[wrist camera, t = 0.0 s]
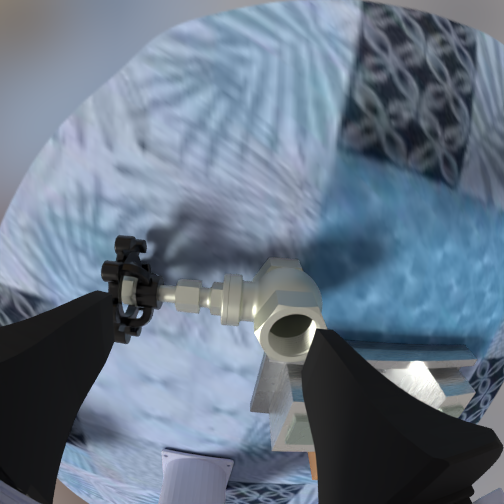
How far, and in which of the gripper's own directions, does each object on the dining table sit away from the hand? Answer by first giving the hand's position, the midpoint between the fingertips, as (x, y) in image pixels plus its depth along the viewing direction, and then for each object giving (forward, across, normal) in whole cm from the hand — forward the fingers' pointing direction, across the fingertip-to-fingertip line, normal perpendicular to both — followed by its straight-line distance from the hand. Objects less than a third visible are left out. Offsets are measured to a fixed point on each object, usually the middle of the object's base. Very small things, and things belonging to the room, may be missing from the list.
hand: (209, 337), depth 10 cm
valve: (+10, 0, +2) cm, 11 cm away
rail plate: (+10, -14, +10) cm, 20 cm away
